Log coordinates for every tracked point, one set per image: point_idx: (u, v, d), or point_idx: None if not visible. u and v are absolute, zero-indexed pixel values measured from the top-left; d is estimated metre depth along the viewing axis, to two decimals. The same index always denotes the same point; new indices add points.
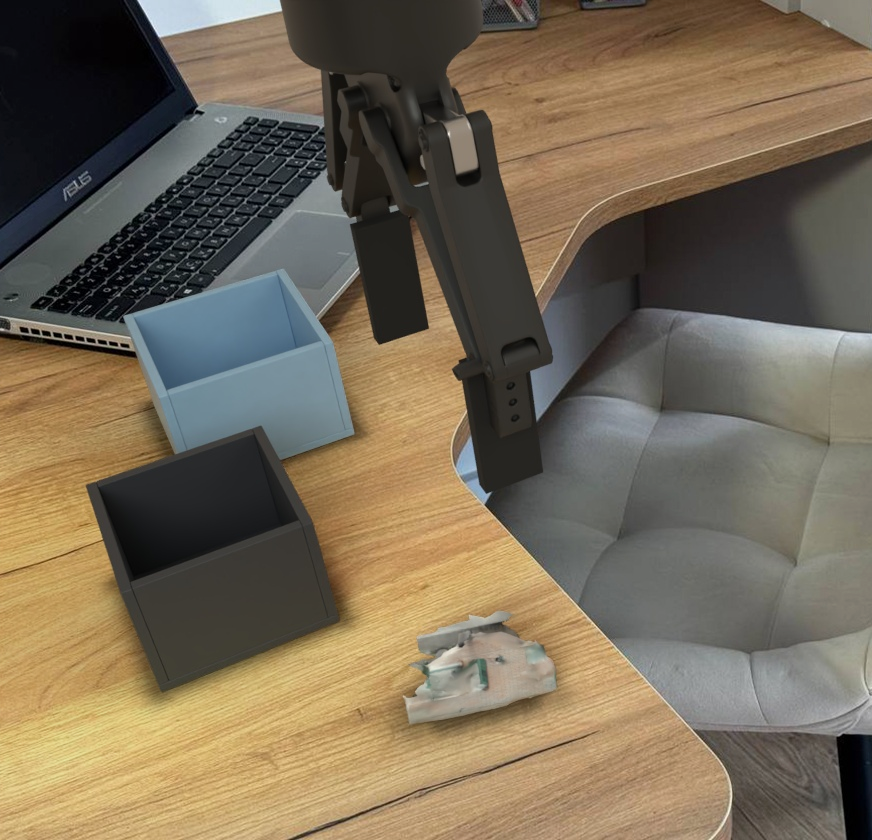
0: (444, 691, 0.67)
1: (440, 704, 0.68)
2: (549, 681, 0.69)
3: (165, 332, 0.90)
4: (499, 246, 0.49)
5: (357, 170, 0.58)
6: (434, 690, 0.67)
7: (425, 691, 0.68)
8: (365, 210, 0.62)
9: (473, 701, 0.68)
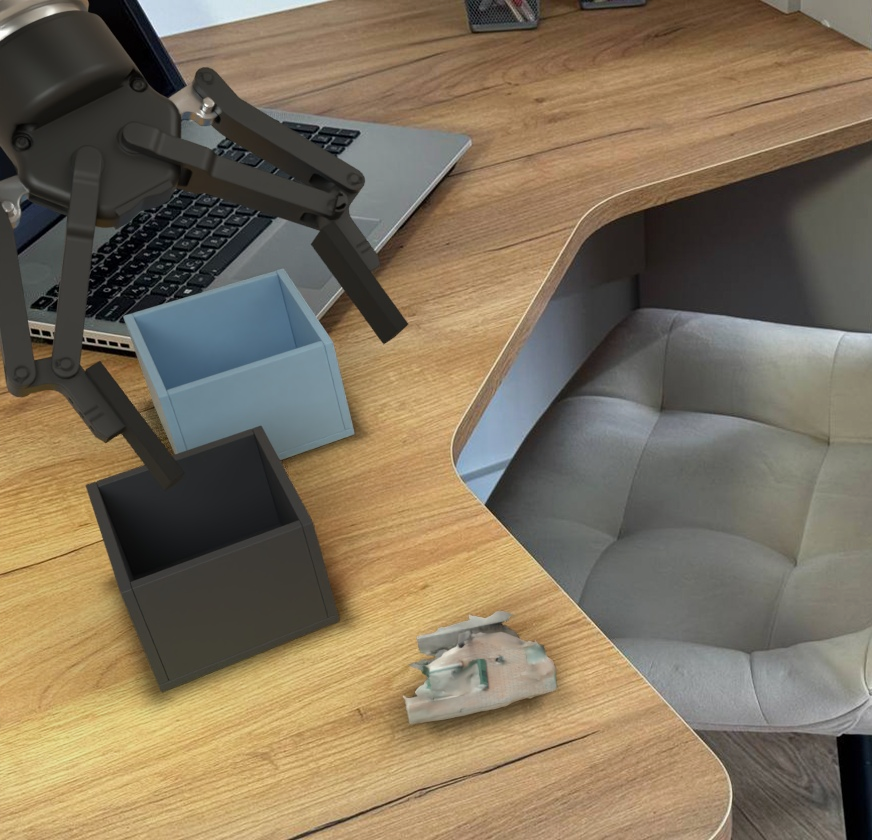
0: (445, 691, 0.67)
1: (440, 704, 0.68)
2: (549, 682, 0.69)
3: (165, 332, 0.90)
4: None
5: (89, 268, 0.62)
6: (434, 690, 0.67)
7: (425, 691, 0.68)
8: None
9: (473, 701, 0.68)
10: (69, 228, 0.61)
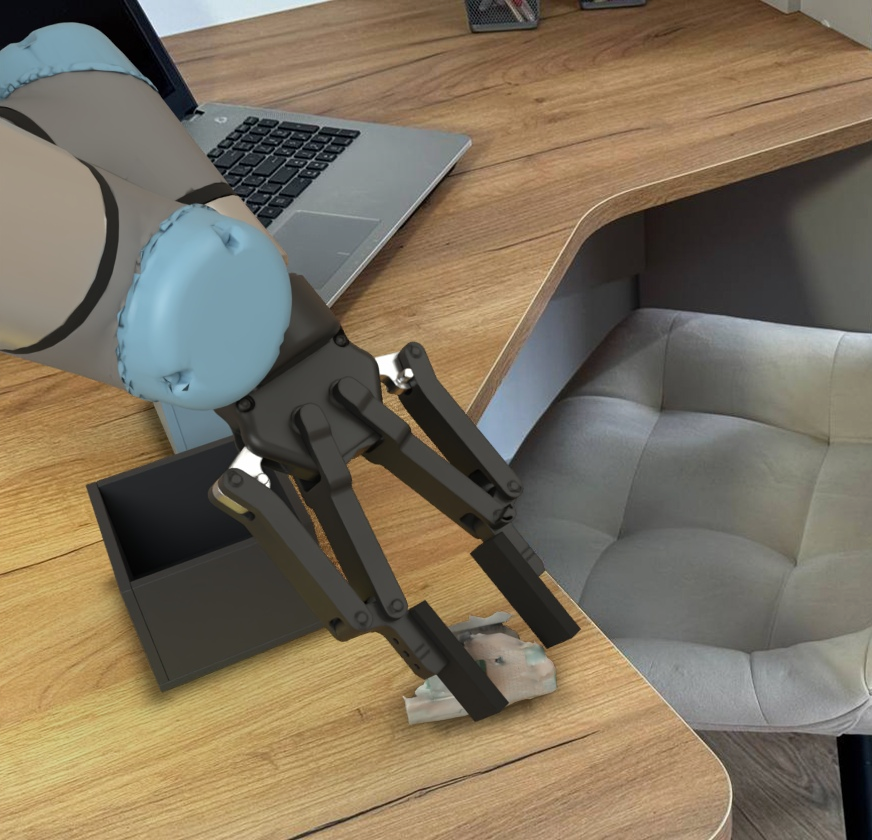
0: (444, 692, 0.67)
1: (440, 705, 0.68)
2: (549, 683, 0.69)
3: None
4: None
5: (363, 512, 0.63)
6: (433, 690, 0.67)
7: (425, 691, 0.68)
8: None
9: None
10: (332, 486, 0.62)
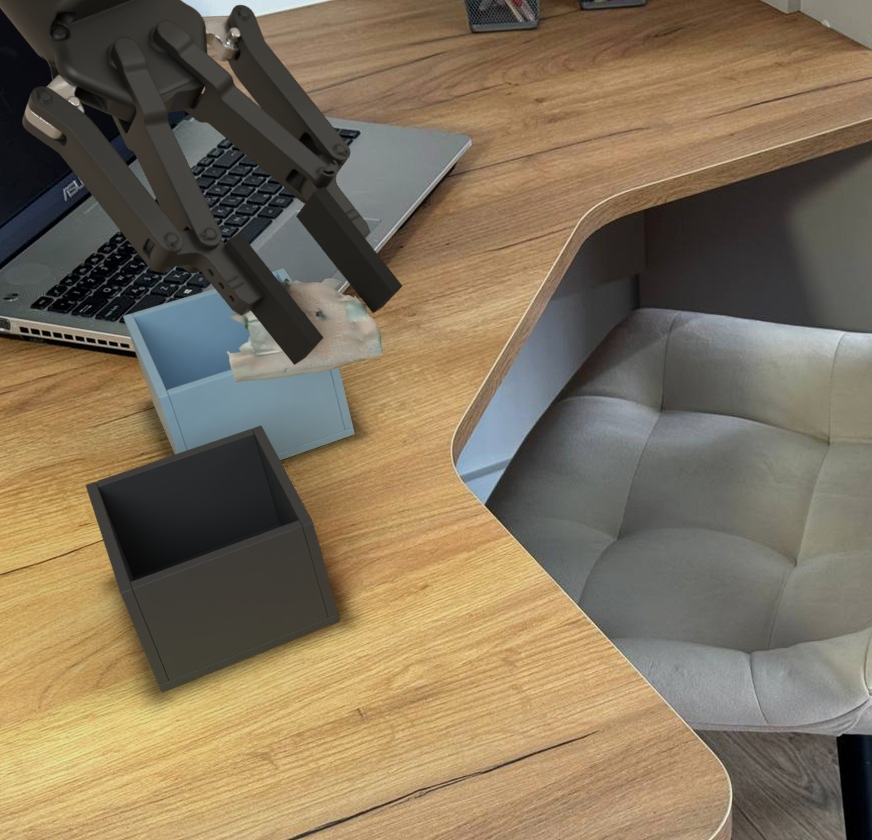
0: (265, 344, 0.68)
1: (263, 361, 0.69)
2: (373, 345, 0.70)
3: (165, 332, 0.90)
4: None
5: (179, 146, 0.64)
6: (254, 342, 0.68)
7: (249, 348, 0.69)
8: None
9: None
10: (146, 116, 0.63)
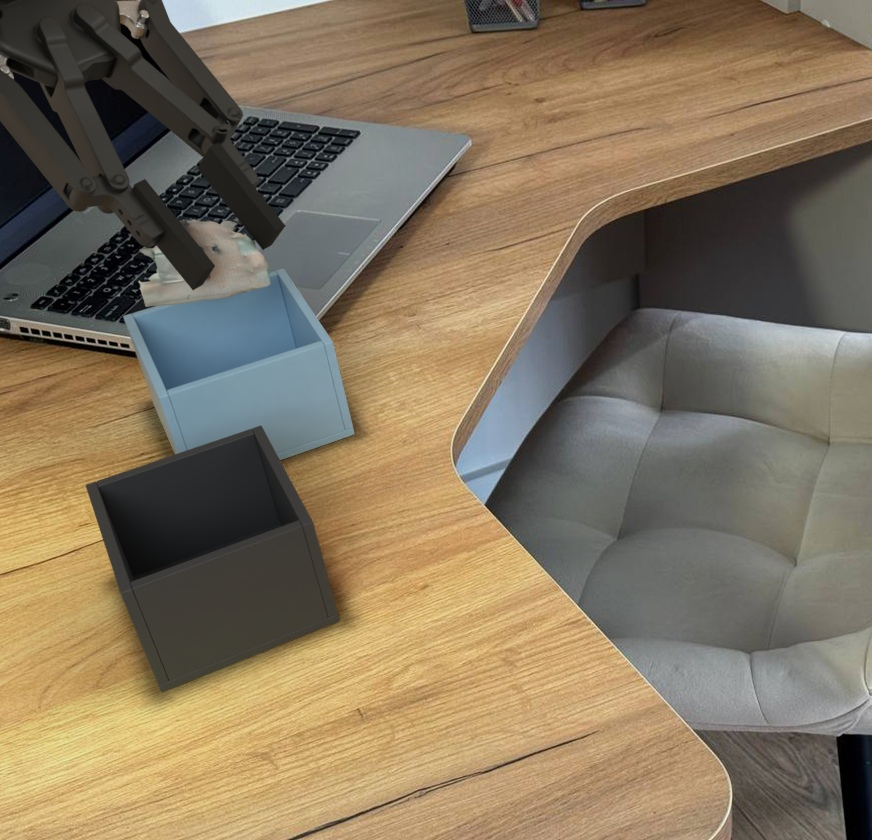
0: (170, 274, 0.81)
1: (169, 289, 0.82)
2: (262, 276, 0.83)
3: (165, 332, 0.90)
4: None
5: (93, 107, 0.78)
6: (160, 272, 0.81)
7: (157, 278, 0.82)
8: None
9: (198, 289, 0.82)
10: (66, 82, 0.77)
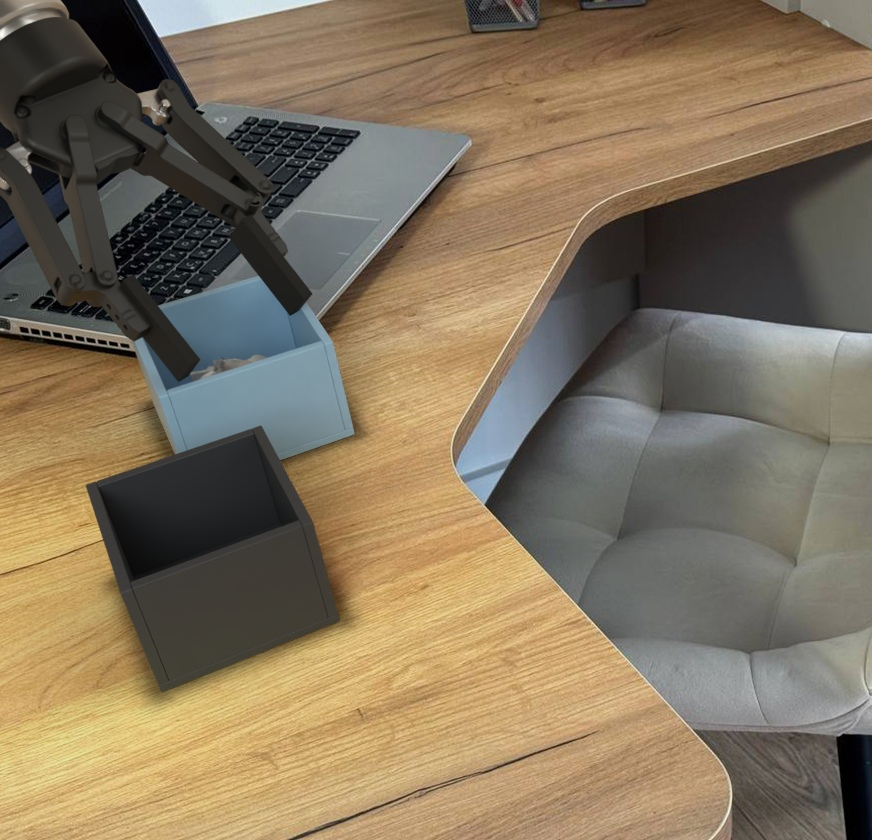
0: None
1: None
2: None
3: None
4: None
5: (100, 205, 0.80)
6: None
7: None
8: None
9: None
10: (78, 177, 0.80)
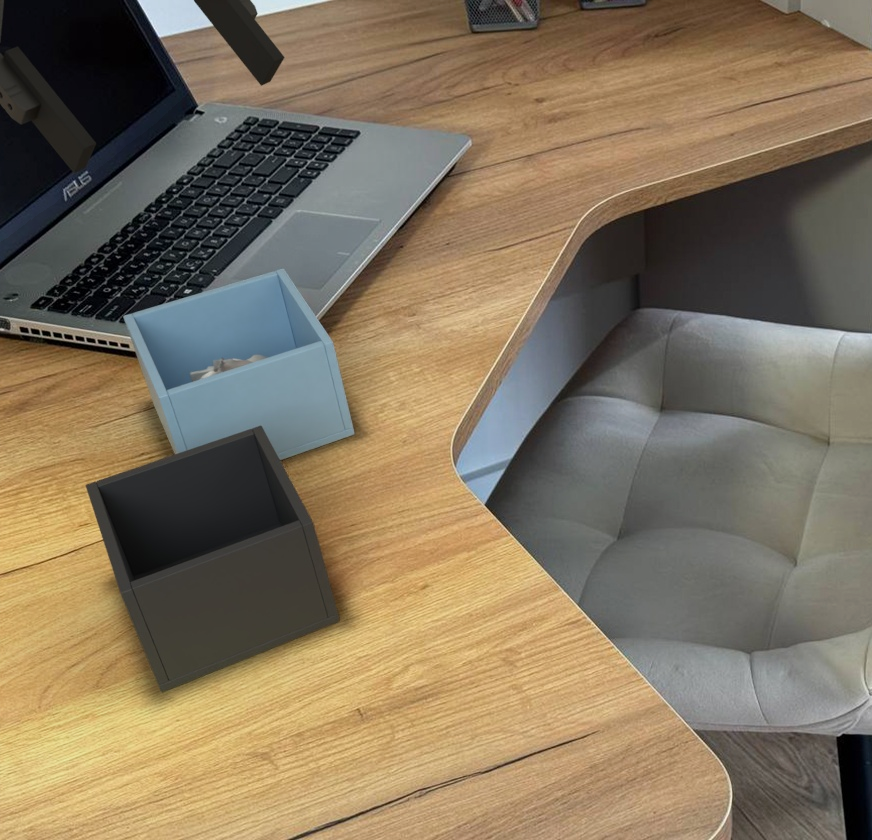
0: None
1: None
2: None
3: (165, 332, 0.90)
4: None
5: None
6: None
7: None
8: None
9: None
10: None
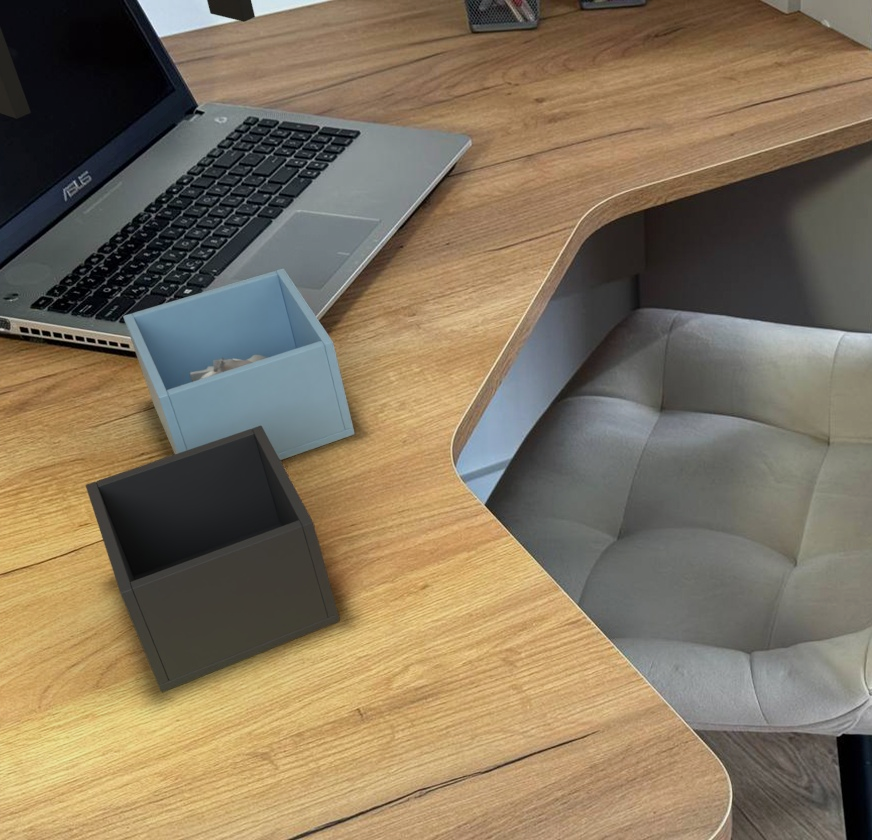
0: None
1: None
2: None
3: (165, 332, 0.90)
4: None
5: None
6: None
7: None
8: None
9: None
10: None
